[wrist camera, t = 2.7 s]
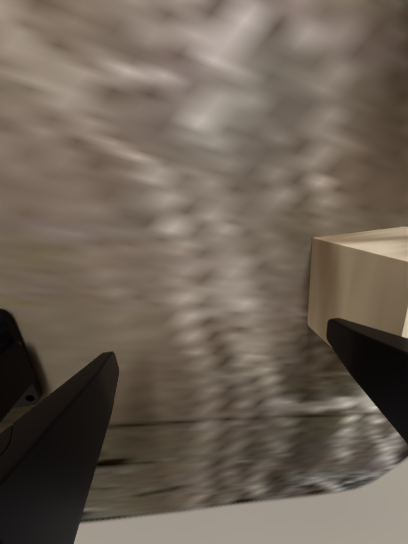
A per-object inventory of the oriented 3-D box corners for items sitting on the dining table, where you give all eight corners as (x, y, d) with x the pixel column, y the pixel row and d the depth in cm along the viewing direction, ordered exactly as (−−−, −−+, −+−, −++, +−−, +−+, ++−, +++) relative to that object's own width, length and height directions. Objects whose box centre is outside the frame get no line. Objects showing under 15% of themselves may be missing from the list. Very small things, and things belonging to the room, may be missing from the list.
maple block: (306, 324, 15) (387, 400, 9) (311, 237, 13) (417, 264, 7) (387, 312, 15) (513, 377, 10) (403, 226, 13) (570, 242, 8)
